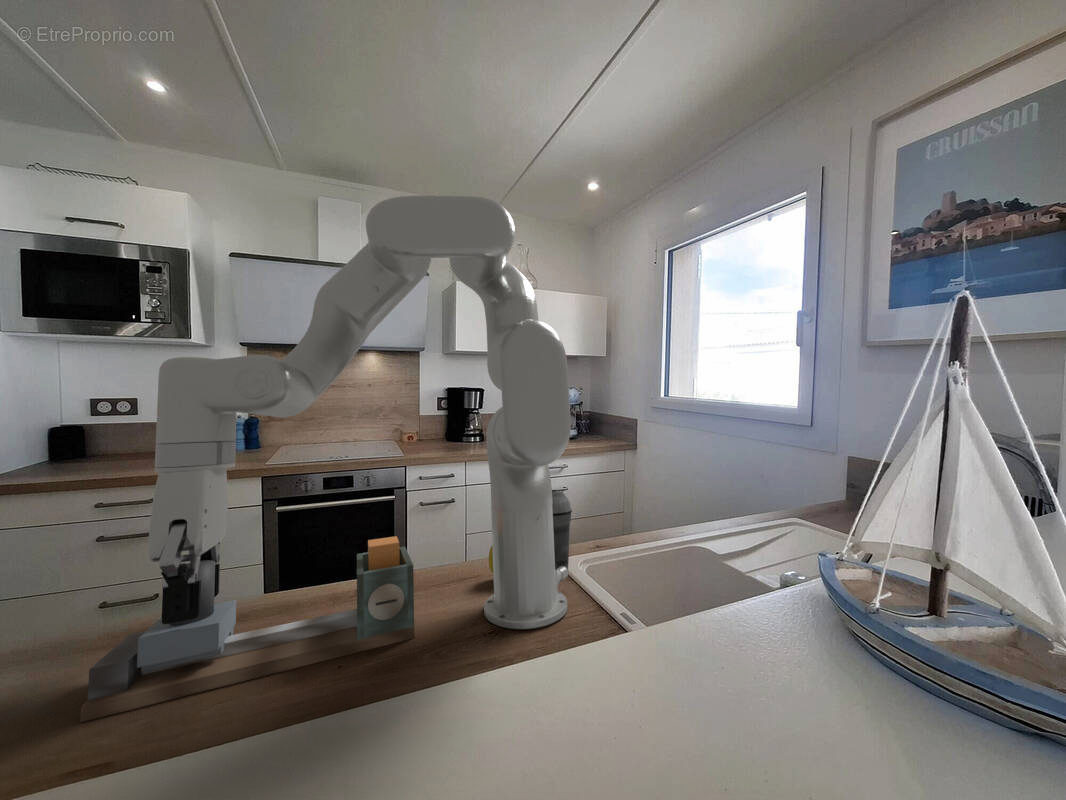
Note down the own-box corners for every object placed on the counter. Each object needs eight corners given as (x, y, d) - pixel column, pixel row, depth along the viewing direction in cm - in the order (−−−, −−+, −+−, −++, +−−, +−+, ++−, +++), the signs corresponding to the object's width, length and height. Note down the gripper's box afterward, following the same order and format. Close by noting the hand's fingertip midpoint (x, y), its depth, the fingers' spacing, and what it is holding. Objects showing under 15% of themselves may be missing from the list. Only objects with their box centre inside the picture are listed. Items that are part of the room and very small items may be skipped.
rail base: (405, 608, 60) (405, 546, 61) (414, 639, 51) (413, 565, 52) (133, 668, 47) (137, 588, 48) (77, 725, 38) (83, 624, 39)
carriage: (235, 631, 50) (237, 553, 51) (218, 659, 44) (220, 569, 45) (165, 645, 47) (169, 562, 48) (136, 677, 41) (140, 581, 42)
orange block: (396, 563, 58) (396, 536, 58) (399, 571, 54) (399, 542, 55) (368, 568, 56) (368, 540, 56) (368, 577, 53) (368, 547, 53)
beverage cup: (578, 579, 69) (572, 467, 71) (538, 582, 69) (533, 469, 71) (571, 565, 77) (566, 464, 78) (535, 568, 76) (530, 466, 78)
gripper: (186, 457, 54) (181, 590, 52) (117, 463, 38) (107, 653, 37) (251, 453, 57) (248, 579, 56) (211, 458, 41) (206, 633, 40)
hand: (192, 607), depth 46 cm, fingers open, 5 cm apart
